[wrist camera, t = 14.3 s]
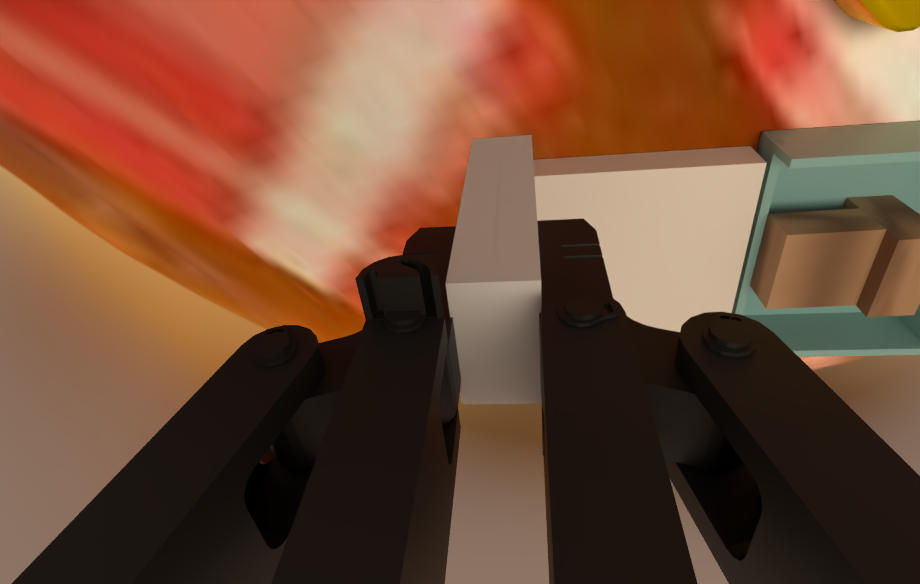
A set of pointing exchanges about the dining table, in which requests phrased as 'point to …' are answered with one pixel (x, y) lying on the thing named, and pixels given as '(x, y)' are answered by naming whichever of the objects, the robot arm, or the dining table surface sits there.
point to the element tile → (884, 13)
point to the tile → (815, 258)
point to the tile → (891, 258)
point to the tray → (827, 188)
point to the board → (661, 224)
